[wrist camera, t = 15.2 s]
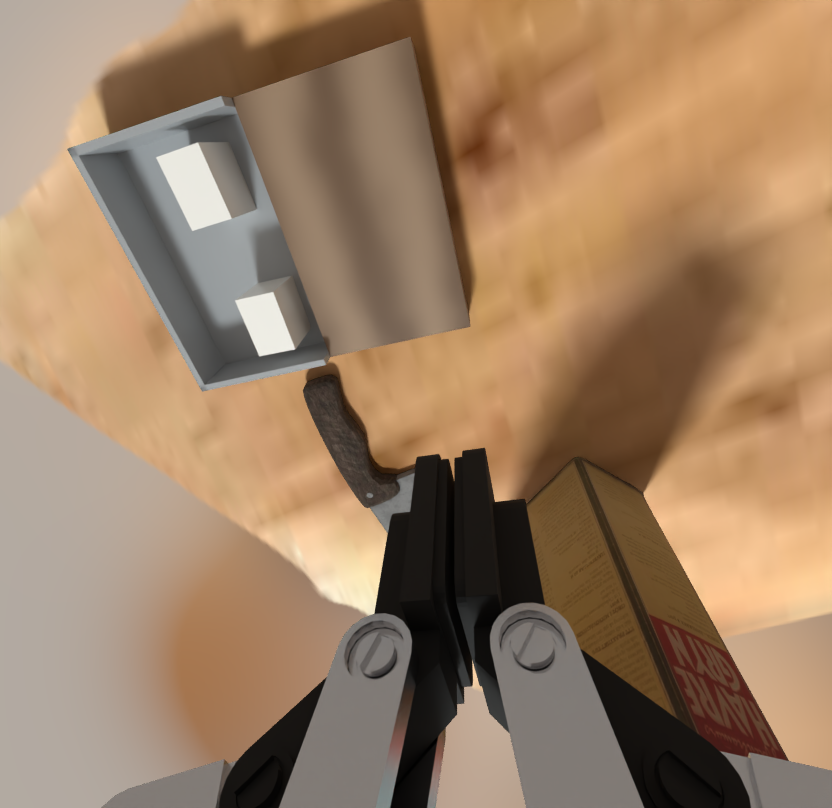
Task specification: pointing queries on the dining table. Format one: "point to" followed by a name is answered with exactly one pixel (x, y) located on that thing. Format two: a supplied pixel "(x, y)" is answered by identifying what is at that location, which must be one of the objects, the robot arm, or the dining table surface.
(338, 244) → the board
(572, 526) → the food packaging
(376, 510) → the cleaver
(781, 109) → the dining table surface
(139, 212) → the tray
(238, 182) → the white rectangular block
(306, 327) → the tile
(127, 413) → the dining table surface
